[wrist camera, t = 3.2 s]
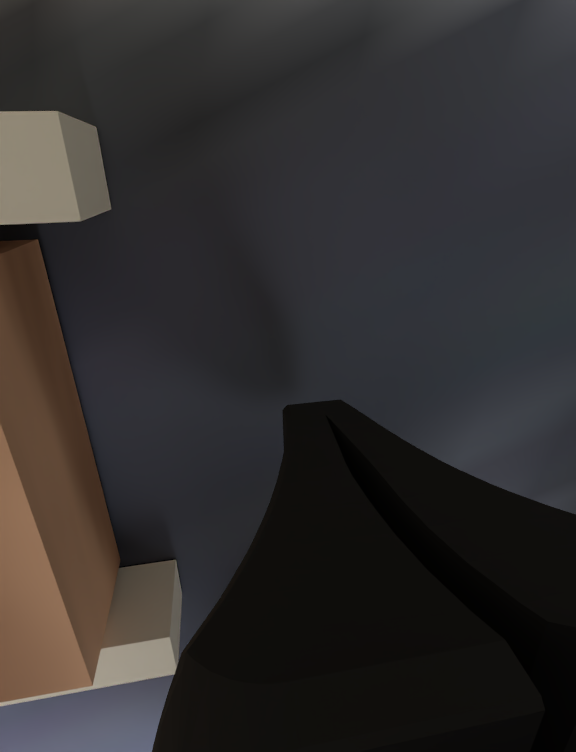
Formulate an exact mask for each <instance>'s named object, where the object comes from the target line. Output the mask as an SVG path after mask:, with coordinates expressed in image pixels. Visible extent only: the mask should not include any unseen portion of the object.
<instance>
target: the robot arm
mask: <svg viewBox="0 0 576 752" xmlns="http://www.w3.org/2000/svg"><path fill="white" fill-rule="evenodd" d="M283 436H284V454H283V459H282V463H281V467H280V471H279V475H278V479H277V483H276V486H275V489H274V492H273V495H272V498H271V500H270V503H269V506H268V508H267V511H266V513H265V516H264V518H263V520H262V522H261V525H260V527H259V529H258V531H257V534H256V536H255V538H254V540H253V542H252V544H251V546H250V548H249V550H248V552H247V554H246V555H245V557H244V559H243V561H242V562H241V564H240V566H239V567H238V569H237V571H236V573H235V574H234V576H233V578H232V579H231V581H230V583H229V585H228V586H227V588H226V590H225V591H224V593H223V594H222V596H221V598H220V599H219V601H218V602H217V604H216V605H215V607H214V608H213V609H212V611H211V612H210V614H209V615H208V616H207V618H206V619H205V621H204V622H203V623H202V625H201V626H200V628H199V629H198V631H197V632H196V633H195V635H194V636H193V638H192V639H191V640H190V642H189V643H188V645H187V646H186V647H185V649H184V650H183V652H182V654H181V657H180V660H179V662H178V665H177V668H176V671H175V674H174V677H173V680H172V683H171V686H170V689H169V692H168V695H167V699H166V702H165V705H164V709H163V712H162V715H161V718H160V722H159V726H158V729H157V733H156V737H155V741H154V745H153V750H152V752H576V515H575V514H572V513H569V512H566V511H563V510H560V509H557V508H553V507H551V506H548V505H545V504H542V503H539V502H537V501H534V500H531V499H528V498H526V497H523V496H520V495H517V494H515V493H512V492H509V491H507V490H504V489H502V488H499V487H497V486H494V485H492V484H489V483H487V482H485V481H483V480H480V479H478V478H476V477H474V476H472V475H469V474H467V473H465V472H463V471H460V470H458V469H456V468H454V467H452V466H450V465H448V464H446V463H444V462H442V461H440V460H438V459H437V458H435V457H433V456H431V455H429V454H427V453H426V452H424V451H422V450H420V449H418V448H416V447H415V446H413V445H411V444H410V443H408V442H406V441H404V440H403V439H401V438H400V437H398V436H396V435H395V434H393V433H391V432H390V431H388V430H387V429H385V428H384V427H382V426H380V425H379V424H377V423H376V422H374V421H373V420H371V419H370V418H368V417H367V416H365V415H364V414H362V413H361V412H359V411H358V410H356V409H355V408H353V407H352V406H350V405H348V404H347V403H345V402H343V401H342V400H332V401H323V402H313V403H303V404H294V405H287V406H286V407H285V408H284V409H283Z"/></svg>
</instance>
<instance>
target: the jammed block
mask: <svg viewBox="0 0 576 752" xmlns="http://www.w3.org/2000/svg"><path fill="white" fill-rule="evenodd" d="M119 565H120V556H119V553H118V549H117V545H116V541H115V537H114V533H113V529H112V525H111V521H110V518H109V514H108V510H107V506H106V502H105V498H104V494H103V490H102V486H101V483H100V479H99V475H98V471H97V467H96V463H95V459H94V455H93V451H92V448H91V444H90V440H89V436H88V432H87V428H86V424H85V420H84V416H83V413H82V409H81V405H80V401H79V397H78V393H77V389H76V385H75V381H74V378H73V374H72V370H71V366H70V362H69V358H68V354H67V350H66V346H65V343H64V339H63V335H62V331H61V327H60V323H59V319H58V315H57V311H56V308H55V304H54V300H53V296H52V292H51V288H50V284H49V280H48V276H47V272H46V269H45V265H44V261H43V257H42V253H41V249H40V245H39V241H38V239H32V240H11V241H0V703H1V702H6V701H12V700H17V699H23V698H28V697H34V696H39V695H45V694H50V693H56V692H61V691H67V690H72V689H78V688H83V687H88V686H93V682H94V678H95V673H96V669H97V664H98V660H99V655H100V650H101V646H102V641H103V637H104V632H105V628H106V623H107V619H108V614H109V610H110V605H111V601H112V596H113V592H114V587H115V583H116V578H117V574H118V569H119Z"/></svg>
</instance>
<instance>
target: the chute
mask: <svg viewBox="0 0 576 752" xmlns="http://www.w3.org/2000/svg"><path fill="white" fill-rule="evenodd" d="M109 210H111V204H110V198H109V193H108V188H107V182H106V177H105V171H104V166H103V160H102V155H101V149H100V144H99V139H98V133H97V128H96V127H95V126H93V125H90V124H88V123H86V122H83V121H81V120H78V119H76V118H73V117H71V116H68V115H66V114H64V113H61V112H59V111H5V112H0V225H9V224H32V223H56V222H79V221H83V220H86V219H88V218H91V217H93V216H96V215H98V214H101V213H104V212H106V211H109ZM181 606H182V590H181V585H180V579H179V574H178V568H177V563H176V560H169V561H163V562H156V563H149V564H142V565H136V566H129V567H122V568H119V569H118V574H117V578H116V583H115V587H114V592H113V596H112V601H111V605H110V610H109V614H108V619H107V623H106V628H105V632H104V637H103V641H102V646H101V650H100V655H99V660H98V664H97V669H96V673H95V678H94V682H93V686H88V687H83V688H78V689H72V690H67V691H61V692H56V693H50V694H45V695H39V696H34V697H28V698H23V699H17V700H12V701H6V702H1V703H0V706H5V705H10V704H16V703H21V702H27V701H32V700H37V699H43V698H48V697H54V696H59V695H65V694H70V693H76V692H81V691H86V690H92V689H97V688H103V687H108V686H114V685H119V684H124V683H130V682H135V681H141V680H146V679H152V678H157V677H163V676H168V675H173V674H175V671H176V668H177V665H178V659H179V641H180V624H181Z"/></svg>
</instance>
